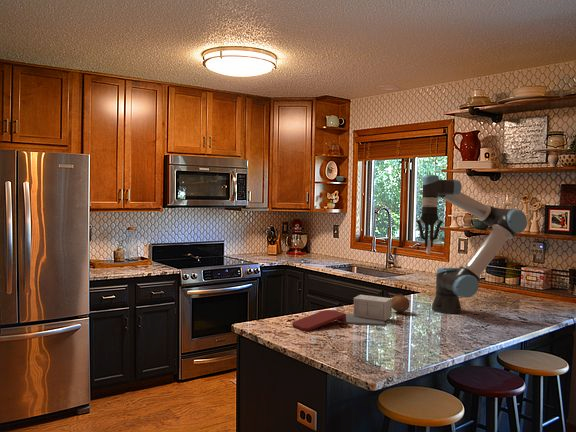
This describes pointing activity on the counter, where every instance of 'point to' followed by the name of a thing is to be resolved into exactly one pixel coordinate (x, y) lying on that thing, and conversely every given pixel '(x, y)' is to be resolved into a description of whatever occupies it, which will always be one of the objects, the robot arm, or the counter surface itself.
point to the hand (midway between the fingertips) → (428, 253)
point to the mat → (362, 320)
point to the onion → (400, 303)
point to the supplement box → (373, 307)
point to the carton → (319, 319)
